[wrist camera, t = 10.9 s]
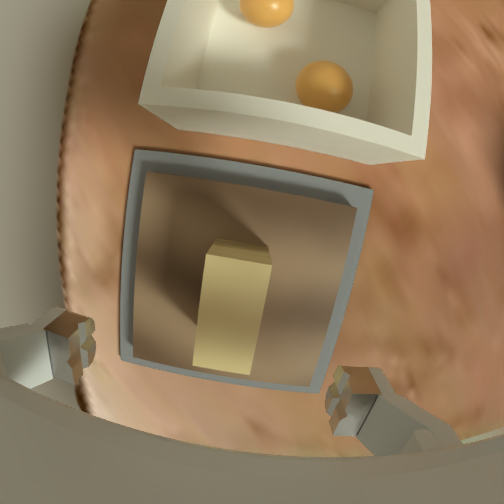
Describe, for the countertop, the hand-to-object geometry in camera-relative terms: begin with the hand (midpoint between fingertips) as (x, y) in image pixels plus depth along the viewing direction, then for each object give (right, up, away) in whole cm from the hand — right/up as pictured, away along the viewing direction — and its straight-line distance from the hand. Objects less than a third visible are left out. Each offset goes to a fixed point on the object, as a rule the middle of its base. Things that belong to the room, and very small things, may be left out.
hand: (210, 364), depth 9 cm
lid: (0, +1, +10) cm, 10 cm away
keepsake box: (+4, +16, +7) cm, 18 cm away
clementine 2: (+5, +13, +7) cm, 16 cm away
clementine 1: (+2, +18, +6) cm, 19 cm away
